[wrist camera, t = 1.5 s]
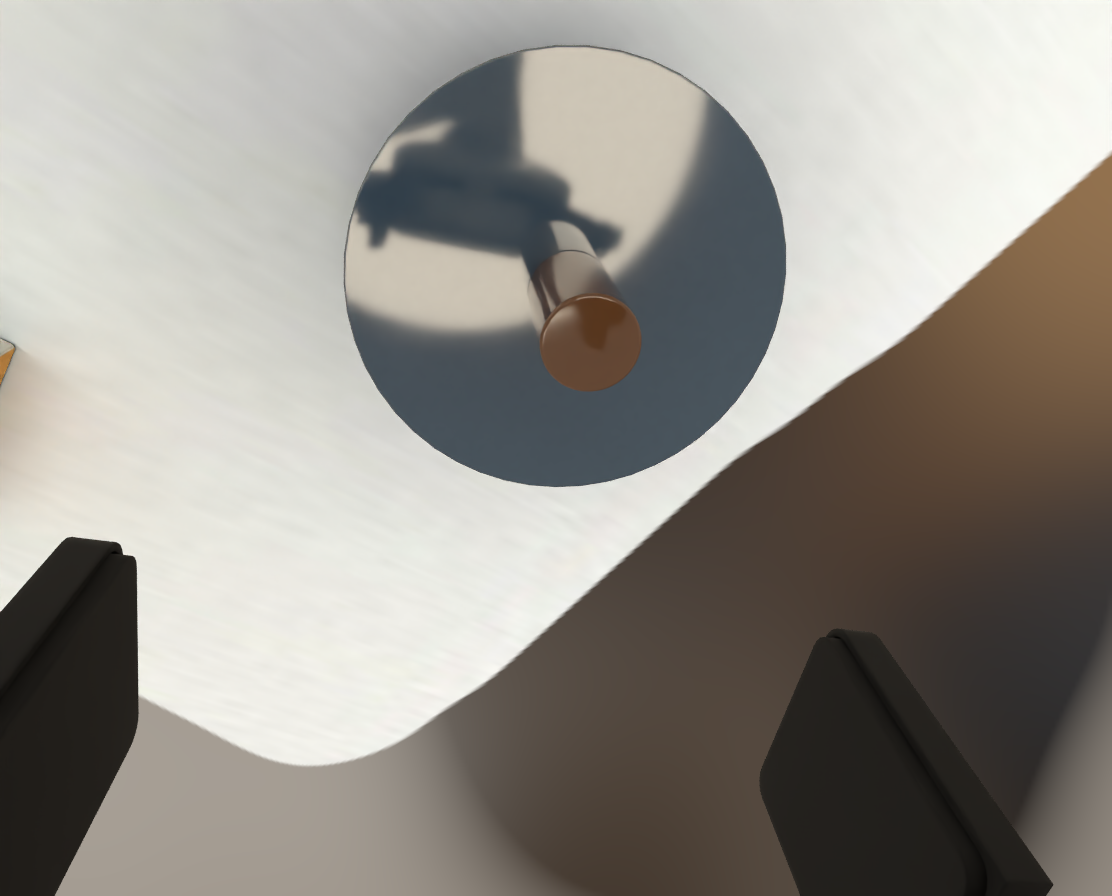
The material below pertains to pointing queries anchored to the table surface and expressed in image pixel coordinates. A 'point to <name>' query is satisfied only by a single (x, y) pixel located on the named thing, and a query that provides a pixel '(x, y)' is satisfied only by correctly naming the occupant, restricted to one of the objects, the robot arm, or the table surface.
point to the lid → (564, 265)
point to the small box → (5, 356)
